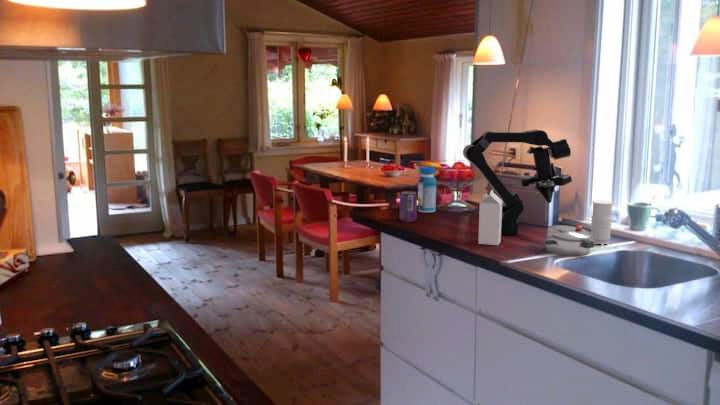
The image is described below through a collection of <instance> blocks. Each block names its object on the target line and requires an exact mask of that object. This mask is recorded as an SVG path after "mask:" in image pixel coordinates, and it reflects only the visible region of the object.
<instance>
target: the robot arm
mask: <svg viewBox="0 0 720 405" xmlns="http://www.w3.org/2000/svg"><path fill="white" fill-rule="evenodd" d="M492 143H523V144H527V145H528V144H529V145H531V146H529V148H528V149H527V151H526V153H527V154H531V155H532V156H533V161H534V167H532V169H533V170H534V171H535V172H536V175H529V176H526V177H523V178H522V180H521V183H520V184H521V187H522V188H523V187H524V188H525V187H529V186H530V185H531V184H534V185H535V186H534V189H536V190H537V191H538V192H539V193H540V194H541V196H542V197H543V198H544V199H545V201H546V202H547V203H548V204H550V203H552V200H553V195H554V191H555V188H556V187H559V186H560V187H561V186H565V185H568V184H569V183H572V182H573V179H572V176H571V175H570V174H562V172H563V168H562V167H557V166H555V165H554V163H553V162H551V159H553V160H554V161H556V160H560V159H565V158H569V157H571V152H572V151H571V147H570V145H569V144H568V141H567V139H566V138H563V139H560V140H556V141H552V140H551V139H550V138H549V136H548V133H547V132H546V131H545V130H542V129H537V128H535V129H530V130H525V131H520V132H519V131H518V132H517V131H513V132H512V131H484V133H482V135H480V136H479V137H478V138H477V139H475V140H474V141H473V142H472V143H470V144H467V145H466V146H464V148H463V150H462V156H463V157H464V158H465V159H466V160H467V161H468V162H469V163H471V164H472V165H473V166H474V167H475V168H476V169H478V171H479V172H480V174H481V175H482V176H483V177H484V179H485V180H486V181H487V182H488V183H489V185H490V186H491V188H492V189H493V191H494V192H495V194H496V195H497V196H498V197H499V198H500V199H501V200H502V222H501V236H514V237H515V236H516V237H517V234H518V233H519V222H518V218H519V216H520V215H522V213H523V211H524V207H525V206H524V204H523V203H524V201H523V200H522V199H521V198H520V197H519V195H518V193H516V191H513V190H512V191H511V192H510V191H509V190H508V188H507V187H506V186H505V185H504V183H503V182H502V181H501V179H499V177H498V176H497V174H496V173H495V172H494V170H493V169H492V168H491V167H490V166H489V164H488V162H487V160H486V157H485V156H484V152H485V151H486V150H487V148H489V146H490V145H491V144H492ZM533 146H537V147H533ZM543 146H544V147H543ZM545 146H546V147H545Z"/></svg>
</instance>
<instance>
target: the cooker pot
mask: <svg viewBox="0 0 720 405" xmlns="http://www.w3.org/2000/svg"><path fill="white" fill-rule="evenodd" d="M544 244H545V245H546V251H547V252H549V253H551V254H555V255H560V256H568V257H583V256H587V255H589V254H590V252H591V251H590V250H591V249H592V248H594V245H595V244H594V242H593V241H592V240H591V239H589V240H586V241H571V240H564V239H560V238H556V237H553V236H551V235H549V234H548V233H547V238H546V240H544Z"/></svg>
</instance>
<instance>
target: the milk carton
mask: <svg viewBox="0 0 720 405" xmlns="http://www.w3.org/2000/svg"><path fill="white" fill-rule="evenodd" d="M481 198H482V200H481V201H479V208H478V209H479V214H478V215H479V218H478V240H477V242H478V243H477V244H479V245H487V246H488V245H490V246H499V244H500V243H501V242H502V241H501V239H502V235H501V222H502V207H503V204H502V200H501V199H500V197H499V195H498V194H497V193H494V189H493V188H492V189H491V191H490V192H489V194H488V193H485V194H483V195H482V196H481Z"/></svg>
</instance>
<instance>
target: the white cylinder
mask: <svg viewBox="0 0 720 405" xmlns="http://www.w3.org/2000/svg"><path fill="white" fill-rule="evenodd" d="M613 204H614V202H612V201H610V200H602V199H601V200H599V199H598V200H597V199H596V200H593V201H592V216H590V218H591V220H590V222H591V223H590V228H591V231H590V233H591V234H592V236H591V239H592V240H591V241H593V242H594V244H593V245H596V244H608V243H609V241H608V240H610V239H611V229H612V219H613V218H612V211H613V210H612V208H613ZM608 245H609V244H608Z"/></svg>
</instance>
